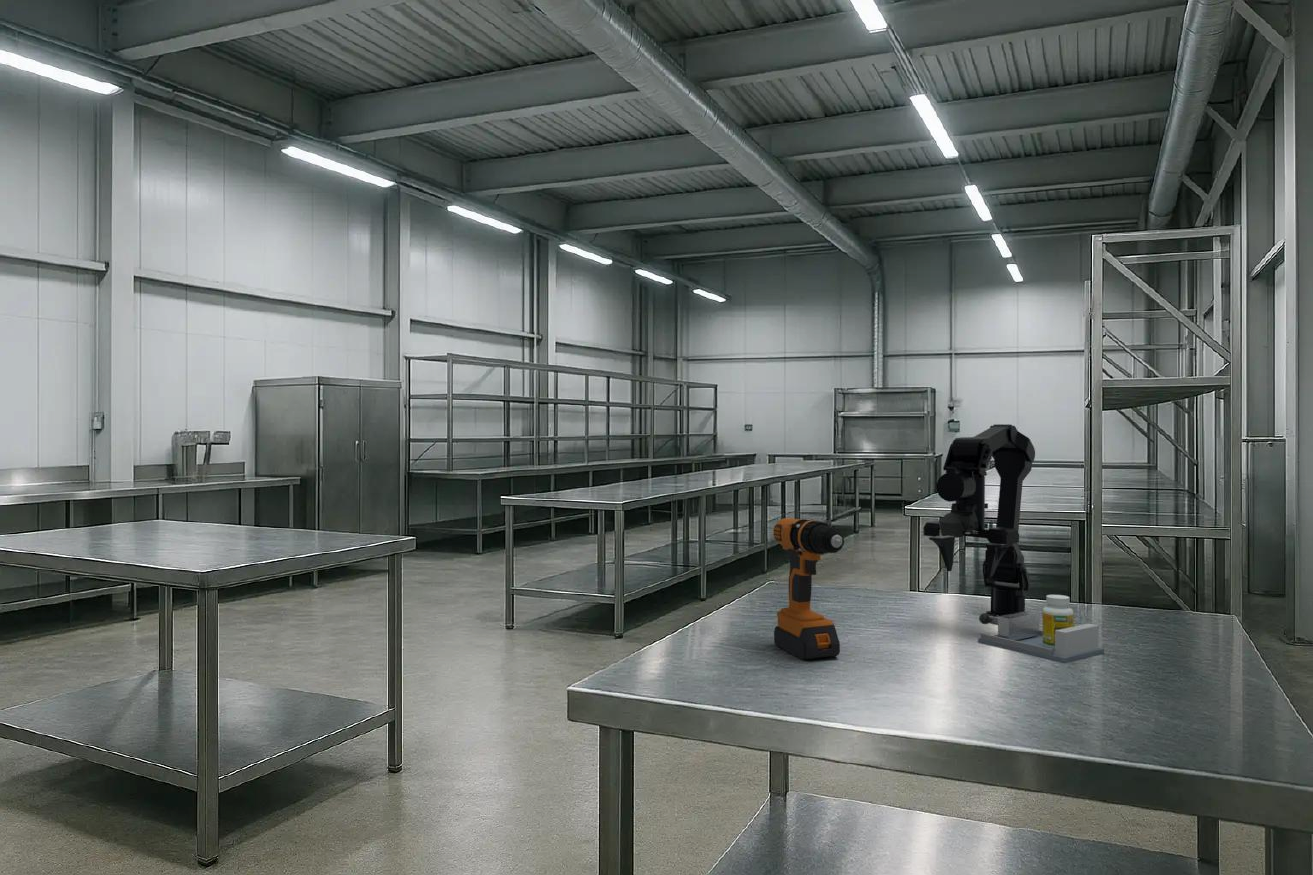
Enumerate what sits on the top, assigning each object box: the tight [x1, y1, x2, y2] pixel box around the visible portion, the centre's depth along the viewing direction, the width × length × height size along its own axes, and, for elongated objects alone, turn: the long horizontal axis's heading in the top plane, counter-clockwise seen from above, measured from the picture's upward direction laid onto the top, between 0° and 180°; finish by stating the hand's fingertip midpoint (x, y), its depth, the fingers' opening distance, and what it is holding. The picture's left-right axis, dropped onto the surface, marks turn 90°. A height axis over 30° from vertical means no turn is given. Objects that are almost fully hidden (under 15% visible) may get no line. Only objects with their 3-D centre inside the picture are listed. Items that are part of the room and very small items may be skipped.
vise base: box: [977, 623, 1105, 664], centre depth 169 cm, size 18×13×5 cm
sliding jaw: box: [978, 610, 1040, 640], centre depth 176 cm, size 10×10×4 cm
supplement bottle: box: [1042, 594, 1075, 650], centre depth 166 cm, size 5×5×10 cm
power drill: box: [773, 517, 845, 661], centre depth 163 cm, size 22×7×25 cm, turn 18°
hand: (969, 573), depth 183 cm, fingers open, 9 cm apart
